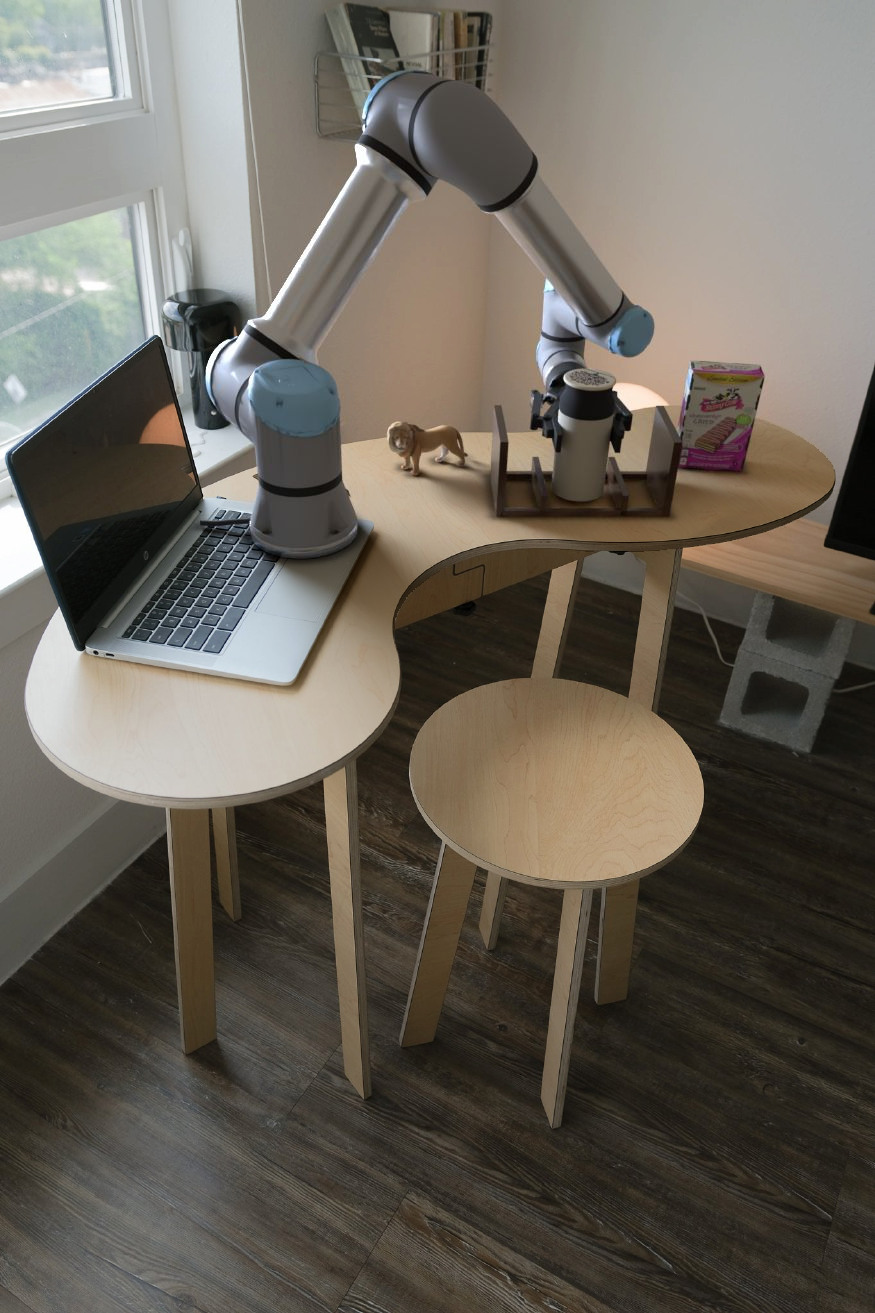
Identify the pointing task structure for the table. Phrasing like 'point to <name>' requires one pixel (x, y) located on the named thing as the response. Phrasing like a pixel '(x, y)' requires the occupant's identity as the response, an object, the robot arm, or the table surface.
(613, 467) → the rack
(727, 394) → the candy bar box
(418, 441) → the lion figurine
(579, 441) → the travel mug
